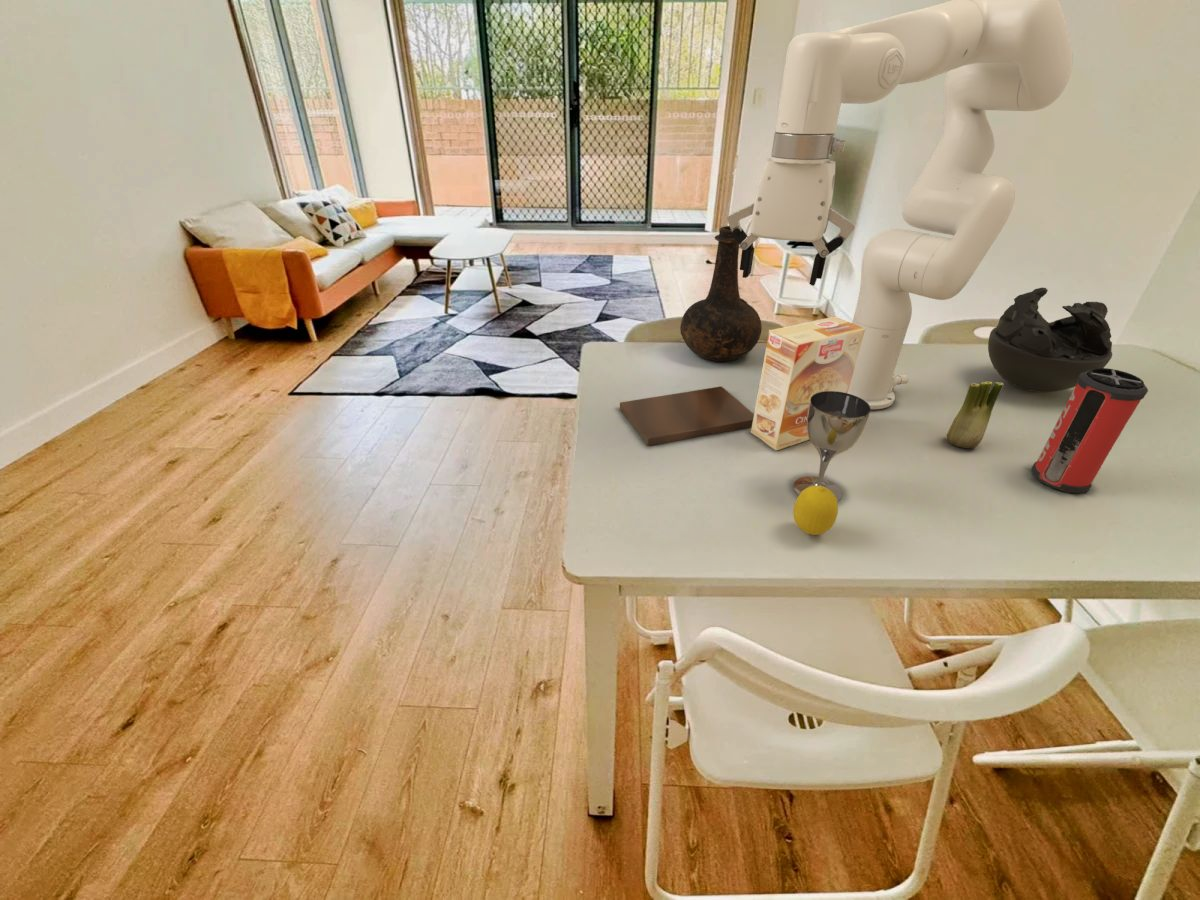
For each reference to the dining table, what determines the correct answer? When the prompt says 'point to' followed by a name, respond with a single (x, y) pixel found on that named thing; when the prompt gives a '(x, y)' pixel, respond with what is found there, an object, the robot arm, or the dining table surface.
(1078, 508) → the dining table surface
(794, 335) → the coffeecake box
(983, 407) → the fennel bulb
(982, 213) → the robot arm
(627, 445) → the dining table surface
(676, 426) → the cutting board
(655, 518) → the dining table surface
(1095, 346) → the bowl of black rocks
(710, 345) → the glass bottle
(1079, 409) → the speaker
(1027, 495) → the dining table surface
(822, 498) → the lemon
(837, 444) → the wine glass
